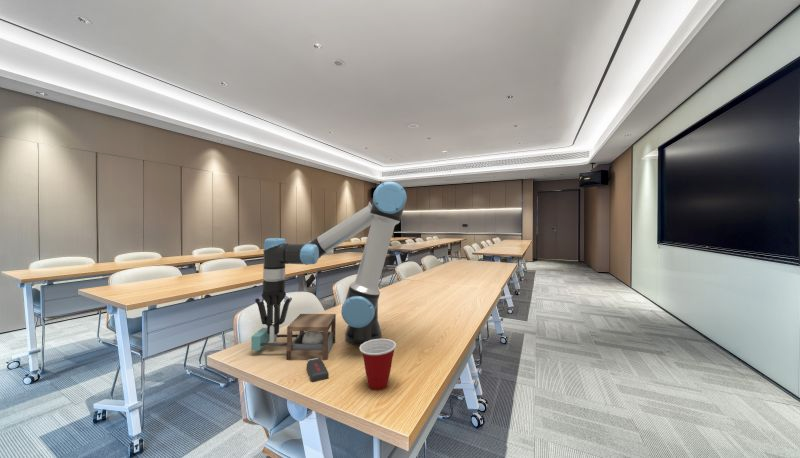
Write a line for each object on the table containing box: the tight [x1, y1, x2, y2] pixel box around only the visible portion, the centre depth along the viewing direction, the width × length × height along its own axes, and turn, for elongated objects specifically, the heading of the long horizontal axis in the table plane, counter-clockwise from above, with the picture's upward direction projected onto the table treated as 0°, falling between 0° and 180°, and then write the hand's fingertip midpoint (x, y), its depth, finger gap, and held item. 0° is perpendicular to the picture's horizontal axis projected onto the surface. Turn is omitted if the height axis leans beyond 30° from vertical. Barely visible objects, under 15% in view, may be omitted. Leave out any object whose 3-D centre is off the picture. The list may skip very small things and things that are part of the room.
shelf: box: [286, 313, 337, 361], centre depth 107 cm, size 14×15×12 cm
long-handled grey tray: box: [250, 327, 334, 353], centre depth 107 cm, size 27×13×7 cm, turn 93°
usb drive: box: [306, 358, 330, 383], centre depth 92 cm, size 5×12×3 cm, turn 27°
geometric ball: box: [302, 331, 323, 344], centre depth 107 cm, size 8×8×8 cm
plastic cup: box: [359, 338, 397, 391], centre depth 85 cm, size 11×11×12 cm
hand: (273, 342), depth 107 cm, fingers closed
